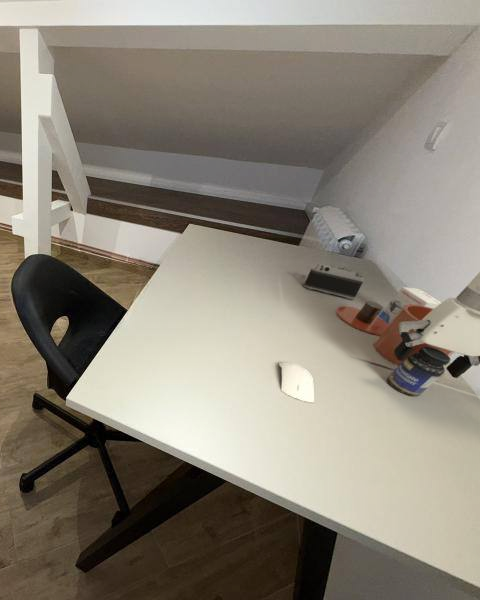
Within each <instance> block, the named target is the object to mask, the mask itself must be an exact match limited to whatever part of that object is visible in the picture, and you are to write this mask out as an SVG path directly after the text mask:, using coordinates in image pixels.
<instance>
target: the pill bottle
mask: <svg viewBox="0 0 480 600" xmlns="http://www.w3.org/2000/svg"><path fill="white" fill-rule="evenodd" d="M450 362H451V356H450V357H449V356H448V355H446V354H445V353H443V352H442V351H440V350H438V349H435V348H432V347H428V346H424V347H422V348H421V349H420V350H419V353H413V354H410V355H409V356H408V357H407V358H406V359H405V360H404V361H403V362H402V363H401V364H400V365H399V366H398V365H397V367H396V368H395V369H394V370H393V371H392V372H391V373H390V375H388V377H387V382H388V384H389V385H390V386H391V387H392V388H393V389H395V390H396V391H398V392H400V393H401V394H404V395H407V396H408V397H419V396H421V394H423V393H424V392H425V391H426V390H427V389H428V388H429V387H430V386H431V385H432V384H434V383H435V382H436V381H437V380H438V379H439V378H440V377H441V376H442V375H443V374H445V371H446V370H445V367H444V366H446V365H449V363H450Z"/></svg>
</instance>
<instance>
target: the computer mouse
mask: <svg viewBox="0 0 480 600" xmlns="http://www.w3.org/2000/svg"><path fill="white" fill-rule="evenodd" d="M278 365H279V367H280V368H281V387H280V388H281V389H280V391H282V392H283V393H284V394H285V395H287V396H289V397H291V398H294V399H296V400H297V399H298V400H300V401H303V402H307V403H315V384H314V378H313V376H312V374H311V373H310V372H309V370H307V369H306V368H305V367H304V366H302V365H299V364H297V363H293V362H288V361H287V362H286V361H283V362H279V363H278Z"/></svg>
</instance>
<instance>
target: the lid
mask: <svg viewBox="0 0 480 600" xmlns="http://www.w3.org/2000/svg"><path fill="white" fill-rule="evenodd" d="M383 310H384V307H383V305H381V304H379V303H377V302H374V301H371V300H367V301H366V302H365V303H364V304H363V306H362V307H361V308H358V307H353V306H340V307H337V309H336V311H335V314H336V316H337V317H338V318H339V319H340V321H343V322H344V323H345V324H346V325H348V326H350V327H352V328H354V329H356V330H358V331H361V332H364V333H366V334H370V335H373V336H374V335H375V336H380V335H381V333H382V332H383V331H384V330H385V328H386V327H387V326H388V325H389V324H388V323H386V322H385V321H384V320H382V319H381V318H380V317H379V315H380V312H382V311H383Z"/></svg>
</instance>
